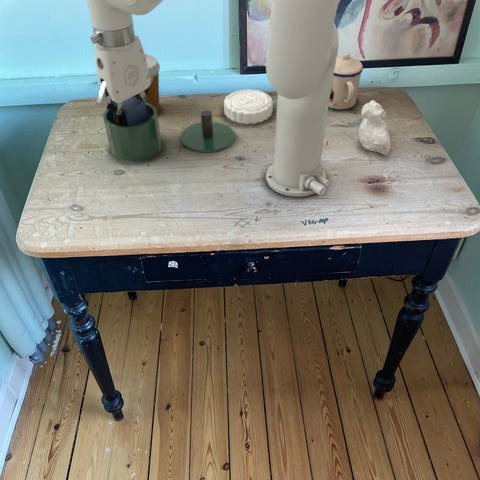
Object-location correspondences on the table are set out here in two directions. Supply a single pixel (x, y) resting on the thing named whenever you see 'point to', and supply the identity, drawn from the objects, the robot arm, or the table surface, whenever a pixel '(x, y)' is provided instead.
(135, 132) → the crock
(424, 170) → the table surface
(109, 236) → the table surface
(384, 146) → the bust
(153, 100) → the disposable coffee cup
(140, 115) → the block
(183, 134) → the crock lid
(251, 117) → the mooncake
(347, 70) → the teacup with lid
